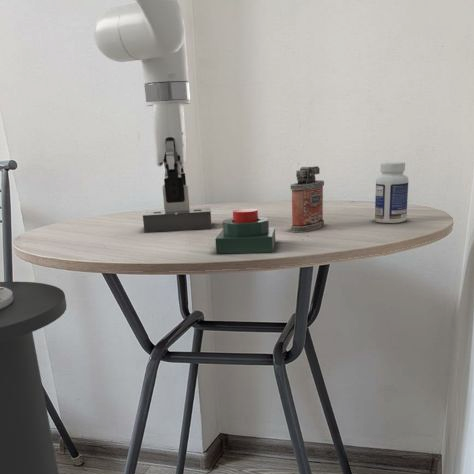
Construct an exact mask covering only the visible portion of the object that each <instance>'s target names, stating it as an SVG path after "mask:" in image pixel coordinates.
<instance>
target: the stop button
mask: <svg viewBox="0 0 474 474" xmlns="http://www.w3.org/2000/svg"><path fill="white" fill-rule="evenodd" d="M258 217H259V210H258V209H257V208H238V209H234V210H232V218H233V222H237V223H246V222H256V221H258Z"/></svg>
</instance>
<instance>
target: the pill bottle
mask: <svg viewBox="0 0 474 474" xmlns="http://www.w3.org/2000/svg"><path fill="white" fill-rule="evenodd" d="M379 170H380V173H381V175H379V176H378V177H377V178H376V180H375V199H374V201H375V203H374V221H375V222H376V223H381V224H397V223H403V222H405V221H406V220H407V219H408V217H407V215H408V200H409V199H408V198H409V197H408V196H409V177H408V176H407V175H405V174H404V172H405V171H406V162H405V161H391V162H381V163H380V169H379Z"/></svg>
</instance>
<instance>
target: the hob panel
mask: <svg viewBox="0 0 474 474" xmlns="http://www.w3.org/2000/svg"><path fill="white" fill-rule="evenodd" d="M211 209H212V208H211V207H195V208H191V207H190V211H179V212H165V210H164V209H158V210H157V209H156V210H146V211H145V212H144V213H143V214H142V223H143V232H144V233H159V232H160V233H162V232H177V231H192V230H193V231H194V230H196V231H197V230H210V229H212V212H211V211H212V210H211Z"/></svg>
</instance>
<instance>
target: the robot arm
mask: <svg viewBox="0 0 474 474" xmlns="http://www.w3.org/2000/svg"><path fill="white" fill-rule="evenodd" d="M185 26H186V25H185V19H184V16H183V13H182V10H181V7H180V5H179V2H178V0H135V2H134V3H129V4H125V5H121V6H116V7H112V8H109V9H107V10H104V11H103V12H102V13H100V15H99V16H98V17H97V18H96V20H95V22H94V25H93V37H94V42H95V44H96V46H97V48H98V50H99V52H101V53H102V54H103V56H105V57H106V58H108V59H109V60H112V61H114V62H117V63H126V62H135V61H140V62H141V65H142V66H141V67H142V75H143V85H144V94H145V105H146V107H152V124H153V125H152V126H153V127H152V129H153V139H154V151H155V164H156V166H157V167H162V166H163V168H164V171H163V172H164V178H163V183H164V184H165V194H166V202H167V203H175V202H184V201H185V195H184V184H187V180H186V179H187V177H186V173H185V170H184V169H185V168H184V164H185V163H186V162H187V134H186V133H187V132H186V118H185V105H190V104H191V93H190V81H189V67H188V65H189V64H188V53H187V41H186V40H187V39H186V27H185ZM164 184H163V185H164ZM13 300H14V299H13V293H12V291H11V290H10V289H7V288H4V287H0V310H1V309H3V308H5V307H7V306H8V305H10V304H11V303H12V302H13Z"/></svg>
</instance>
